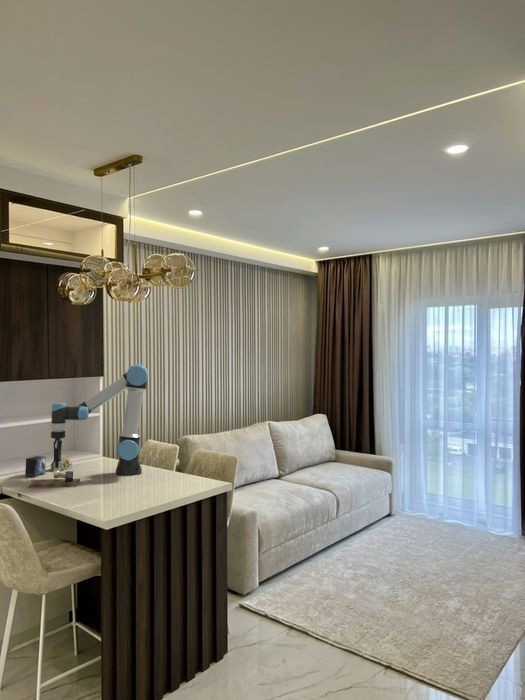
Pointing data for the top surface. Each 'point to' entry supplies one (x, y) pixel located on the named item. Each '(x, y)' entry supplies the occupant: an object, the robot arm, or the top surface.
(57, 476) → the lever
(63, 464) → the ceramic model
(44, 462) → the small box
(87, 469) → the top surface
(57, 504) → the top surface
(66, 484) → the dial board
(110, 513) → the top surface
